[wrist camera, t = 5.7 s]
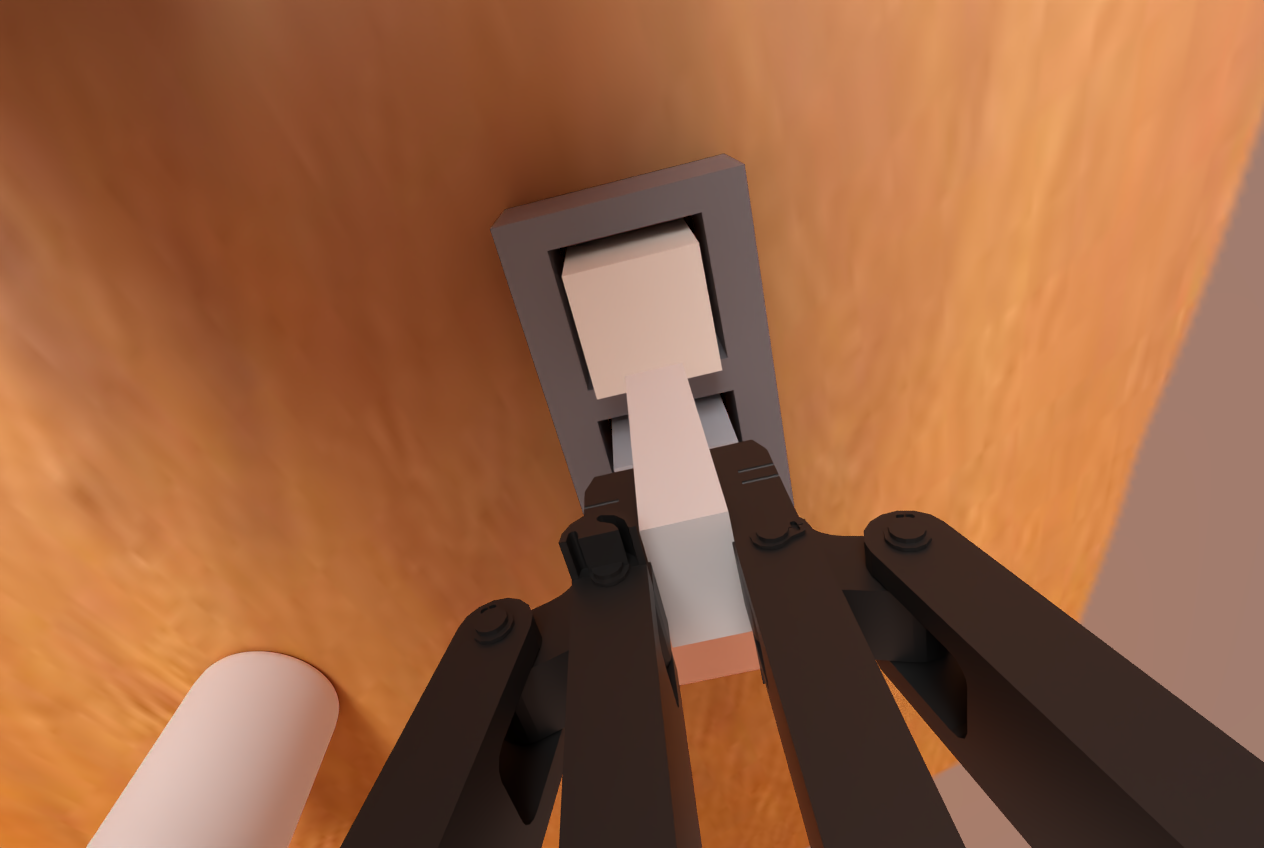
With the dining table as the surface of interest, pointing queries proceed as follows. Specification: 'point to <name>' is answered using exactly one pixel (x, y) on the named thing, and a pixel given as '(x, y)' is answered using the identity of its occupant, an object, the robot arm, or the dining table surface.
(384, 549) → the dining table surface
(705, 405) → the slate key
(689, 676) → the terracotta key
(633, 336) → the ivory key
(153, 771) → the pill bottle
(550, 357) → the grey slotted block holder
